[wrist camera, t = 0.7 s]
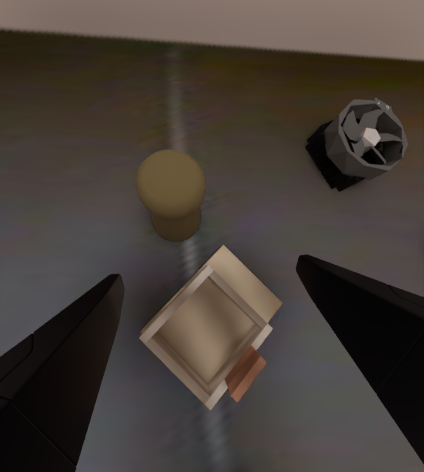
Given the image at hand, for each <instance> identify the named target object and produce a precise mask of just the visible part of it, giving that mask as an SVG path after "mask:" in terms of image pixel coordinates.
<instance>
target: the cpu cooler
mask: <svg viewBox="0 0 424 472" xmlns="http://www.w3.org/2000/svg"><path fill="white" fill-rule="evenodd" d="M307 141H308V143H309V144H308V145H307V146H306V147H305V148H306V149H308V151H309V150H310V151H309V154H311V156H312V159H313V158H314V159H313V160H315V161H316V160H317V162H315V163H317V164H318V167H320V168H321V169H320V168H319V170H322V168H323V170H322V171H324V170H325V171H324V173H325V175H324V173H323V172H322V173H323V176H326V174H327V176H326V178H327V177H329V176H330V178H327V182H328V179H329V182H330V183H331V181H332V179H333V181H334V179H335V181H334V184H333V182H332V185H333V188H334V185H335V187H337V189H338V191H339V192H340V191H342V190H344V189H346V188H348V187H350V186H352V185H354V184H356V183H358V182H359V181H361V180H363V179H372V178H374V177H377V176H379V175H381V174H383V173H385V172H387V171H389V170H390V169H391V168H392V167H394V166H395V165H396V164H397V163H398V162H399V161H400V160H401V159H402V158H403V155H404V153H405V151H406V148H407V146H408V142H407V139H406V136H405V133H404V130H403V127H402V123H401V122H400V121H399V120H398V118H397V117H396V116H395V115H394V113H393V112H392V107H390V106H388V105H387V104H385V103H383V102H382V101H380V100H378V99H377V98H375V99H373V100H353V101H352V102H351V103H350V104H349V105H348V106H347V107H346V108H345V109H344V110H343V111H342V112H341V113H340V114H339V115H338V116H337V117H336V118H335V119H334V120H332V121H330V122H328V123H325V124H324V125H321V126H320V127H319V128H318V129H317V130H316V132H315V133H314V134H313V135H312V136H311V137H310V138H309V139H308V140H307ZM381 142H382V143H381ZM380 144H382V145H383V147H382V145H380ZM378 146H379V147H380V150H381V152H380V150H379V147H378ZM381 147H382V149H383V152H382V149H381ZM378 150H379V152H378ZM315 158H316V159H315ZM318 162H319V163H318ZM317 164H316V165H317ZM319 164H320V166H319ZM321 166H322V167H321ZM324 168H325V169H324ZM326 169H327V170H326ZM328 174H329V175H328ZM331 175H332V178H331ZM324 178H325V177H324ZM336 178H337V180H336ZM330 180H331V181H330ZM329 182H328V183H329ZM335 182H336V184H335ZM330 185H331V184H330ZM332 185H331V189H333V188H332Z"/></svg>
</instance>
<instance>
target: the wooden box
mask: <svg viewBox="0 0 424 472" xmlns="http://www.w3.org/2000/svg"><path fill="white" fill-rule="evenodd" d="M282 304H283V303H282V302H281V301H280V300H279V299H278V298H277V297H276V296H275V295H274V294H273V293H272V292H271V291H270V290H269V289H268V288H267V287H266V286H265V285H264V284H263V283H262V282H261V281H260V280H259V279H257V278H256V277H255V276H254V275H253V274H252V273H251V272H250V271H249V270H248V269H247V268H246V267H245V266H244V265H243V264H242V263H241V262H240V261H239V260H238V259H237V258H236V257H235V256H234V255H233V254H232V253H231V252H230V251H229V250H228V249H227V248H226V247H225V246H224V245H223V246H221V247H220V248H219V249H218V250H217V252H216V253H215V254H214V255H213V256H212V257H211V258H210V259H209V260H208V261H207V262H206V263H205V264H204V265H203V266H202V267H201V268H200V269H199V270H198V271H197V272H196V273H195V274H194V275H193V277H192V278H191V279H190V280H189V281H188V282H187V283H186V284H185V285H184V286H183V287H182V288H181V289H180V290H179V291H178V292H177V293H176V294H175V295H174V296H173V297H172V298H171V299H170V300H169V301H168V303H167V304H166V305H165V306H164V307H163V308H162V309H161V310H160V311H159V312H158V313H157V314H156V315H155V316H154V317H153V318H152V319H151V320H150V321H149V322H148V323H147V324H146V325H145V326H144V327H143V329H142V330H141V332H142V334H141V336H140V337H139V339H140V340H141V341H142V342H143V343H144V344H145V345H146V346H147V347H148V348H149V349H150V350H151V351H152V352H153V353H154V354H155V355H156V356H157V357H158V358H159V359H160V360H161V361H162V362H163V363H164V364H165V365H166V366H167V367H168V368H169V369H170V370H171V371H172V372H173V373H174V374H175V375H176V376H177V377H178V378H179V379H180V380H181V381H182V382H183V383H184V384H185V385H186V386H187V387H188V388H189V389H190V390H191V391H192V392H193V393H194V394H195V395H196V396H197V397H198V398H199V399H200V400H201V401H202V402H203V403H204V404H205V405H206V406H207V407H208V409H209V410H210V411H211V409H212V408H213V407H214V405H215V404H216V403H217V402H218V400H219V399H220V398H221V396H222V395H223V394H224V392H225V391H226V390H227V388H228V390H229V392H230V395H231V397H232V398H233V399H234V400H235V401H236V402H237V403H238V401H239V400H240V399H241V397H242V396H243V394H244V393H245V392H246V390H247V389H248V388H249V386H250V385H251V384H252V382H253V381H254V379H255V378H256V377H257V375H258V374H259V373H260V371H261V370H262V369H263V367H264V366H265V365H266V363H267V362H266V361H265V360H264V359H263V358H262V357H261V356H260V354H259V353H258V352H257V351H256V350H257V349H258V348H259V346H260V345H261V344H262V343H263V341H264V340H265V339H266V337H267V336H268V335H269V333H270V332H271V331H272V329H273V328H272V327H271V326H270V325H269V324H268V322H269V320H270V319H271V318H272V317H273V315H274V314H275V313H276V311H277V310H278V309H279V308H280V306H281V305H282Z"/></svg>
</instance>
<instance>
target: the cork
mask: <svg viewBox="0 0 424 472" xmlns="http://www.w3.org/2000/svg"><path fill="white" fill-rule="evenodd" d="M136 189H137V192H138V196H139V198H140V200H141V201H142V203H143V204H144V205H145V207H146V208H147V209H148V210H149V211H151V217H152V223H153V226H154V229H155V230H156V232H157V233H158V234H159V235H160V236H161V237H163V238H164V239H166V240H169V241H178V242H180V241H184V240H187V239H189V238H190V237H192V236H193V235H194V234H195V233H196V231H197V230H198V228H199V225H200V222H201V214H200V208H199V206H200V205H201V204H202V201H203V198H204V196H205V193H206V180H205V176H204V174H203V171H202V168H201V167H200V166H199V164H198V163H197V162H196V160H194V159H193V158H192V157H190V156H189V155H187V154H185V153H183V152H180V151H177V150H163V151H158V152H156V153H154V154H152V155H150V156H149V157H148V158H147V159H146V160H145V161H144V162H143V163H142V164H141V166H140V168H139V170H138V172H137V179H136Z"/></svg>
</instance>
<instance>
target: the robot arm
mask: <svg viewBox="0 0 424 472" xmlns="http://www.w3.org/2000/svg"><path fill="white" fill-rule="evenodd" d="M296 272H297V274H298V276H299V278H300V280H301V281H302V283H303V285H304V287H305V289H306V290H307V292H308V294H309V296H310V297H311V299H312V300H313V302H314V303H315V305H316V306H317V308H318V309H319V311H320V312H321V314H322V315H323V317H324V318H325V320H326V321H327V323H328V324H329V325H330V327H331V328H332V330H333V331H334V333H335V334H336V336H337V337H338V339H339V340H340V342H341V343H342V345H343V346H344V347H345V349H346V350H347V352H348V353H349V355H350V356H351V358H352V359H353V361H354V362H355V364H356V365H357V367H358V368H359V369H360V371H361V372H362V374H363V375H364V377H365V378H366V380H367V381H368V383H369V384H370V386H371V387H372V389H373V390H374V391H375V393H376V394H377V396H378V398H379V399H380V400H381V402H382V403H383V405H384V406H385V408H386V409H387V411H388V412H389V414H390V415H391V417H392V418H393V420H394V421H395V423H396V424H397V425H398V427H399V428H400V430H401V431H402V433H403V434H404V436H405V437H406V439H407V440H408V442H409V443H410V445H411V446H412V447H413V449H414V450H415V452H416V453H417V455H418V456H419V458H420V459H421V461H422V462H423V464H424V297H422V296H419V295H416V294H413V293H410V292H407V291H405V290H402V289H399V288H396V287H394V286H391V285H387V284H385V283H383V282H380V281H377V280H375V279H372V278H369V277H367V276H364V275H361V274H359V273H356V272H353V271H350V270H348V269H345V268H342V267H340V266H337V265H334V264H332V263H329V262H326V261H324V260H321V259H318V258H315V257H313V256H310V255H300V256H299V258H298V262H297V266H296ZM123 297H124V285H123V281H122V278H121V275H120V274H111V275H109V276H107V277H106V278H105V279H103V280H102V281H101V282H99V283H98V284H97V285H95V286H94V287H93V288H91V289H90V290H89V291H87V292H86V293H85V294H84V295H82V296H81V297H80V298H78V299H77V300H76V301H74V302H73V303H72V304H70V305H69V306H68V307H66V308H65V309H64V310H62V311H61V312H60V313H58V314H57V315H56V316H54V317H53V318H52V319H50V320H49V321H48V322H46V323H45V324H44V325H42V326H41V327H40V328H38V329H37V330H36V331H34V334H30V335H29V336H28V337H26V338H25V339H24V340H22V341H21V342H20V343H18V344H17V345H16V346H14V347H13V348H12V349H10V350H9V351H8V352H6V353H5V354H3V355H2V356H1V357H0V472H75V471H76V466H77V463H78V460H79V457H80V453H81V450H82V446H83V443H84V440H85V436H86V433H87V430H88V426H89V423H90V419H91V416H92V413H93V409H94V406H95V403H96V399H97V396H98V392H99V389H100V386H101V382H102V379H103V376H104V372H105V369H106V365H107V362H108V359H109V355H110V352H111V349H112V345H113V342H114V339H115V335H116V332H117V328H118V325H119V320H120V315H121V309H122V303H123Z"/></svg>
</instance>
